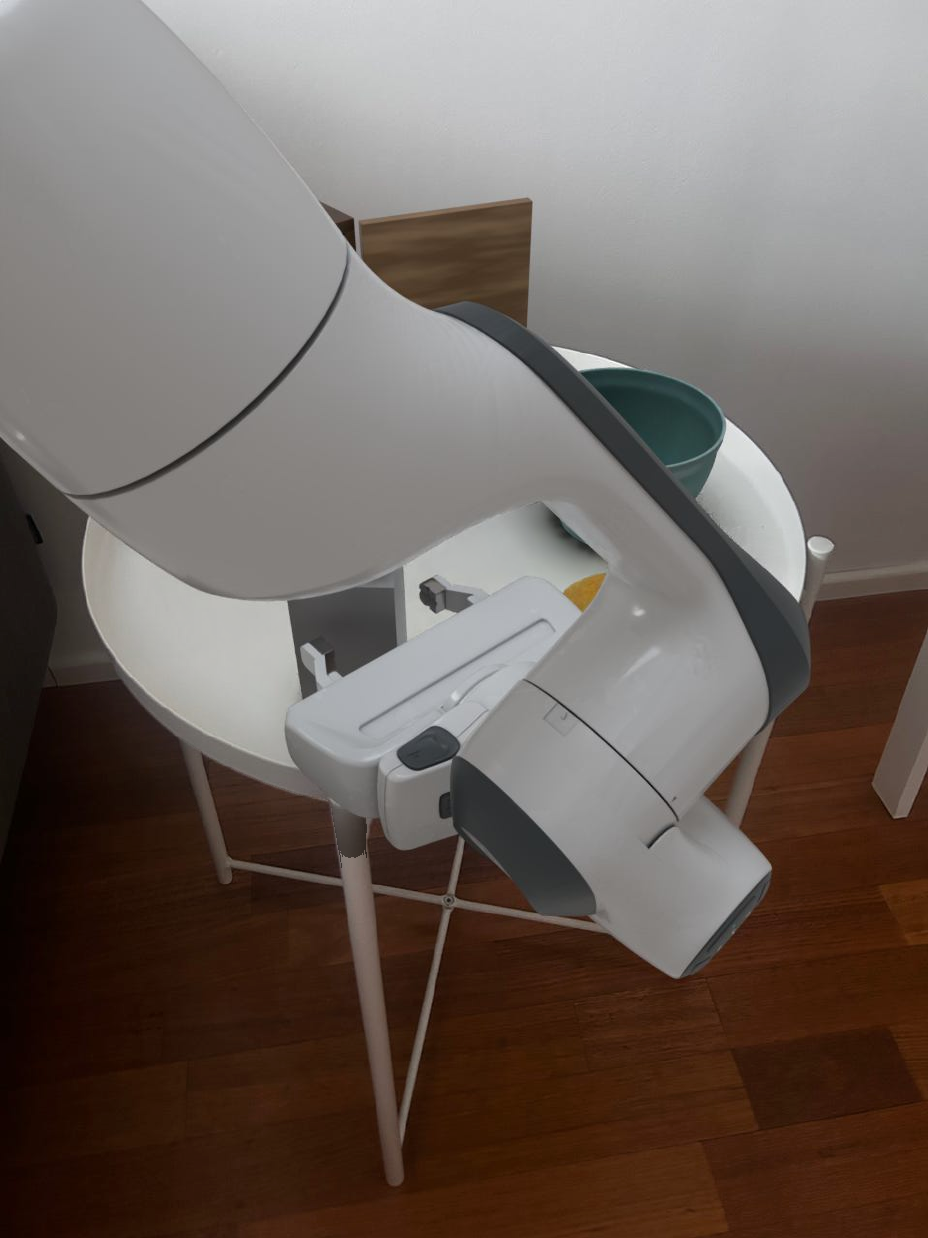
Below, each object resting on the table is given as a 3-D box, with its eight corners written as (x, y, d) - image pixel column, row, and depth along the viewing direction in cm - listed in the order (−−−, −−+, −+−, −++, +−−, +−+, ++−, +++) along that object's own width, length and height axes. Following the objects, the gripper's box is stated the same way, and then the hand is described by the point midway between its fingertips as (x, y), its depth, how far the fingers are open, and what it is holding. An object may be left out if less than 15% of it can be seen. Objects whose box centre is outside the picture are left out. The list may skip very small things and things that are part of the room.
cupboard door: (359, 430, 101) (341, 198, 85) (499, 403, 105) (505, 177, 89) (377, 462, 96) (361, 224, 81) (522, 433, 100) (532, 200, 85)
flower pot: (625, 451, 98) (638, 348, 91) (743, 536, 88) (769, 429, 81) (487, 503, 92) (489, 397, 84) (598, 602, 82) (611, 492, 74)
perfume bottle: (402, 732, 71) (390, 529, 59) (307, 731, 71) (275, 527, 59) (408, 665, 76) (398, 465, 64) (319, 664, 76) (292, 463, 64)
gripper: (643, 621, 61) (491, 516, 69) (369, 796, 51) (228, 650, 59) (630, 693, 65) (489, 586, 73) (375, 868, 55) (243, 723, 63)
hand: (370, 616), depth 66 cm, fingers open, 8 cm apart
